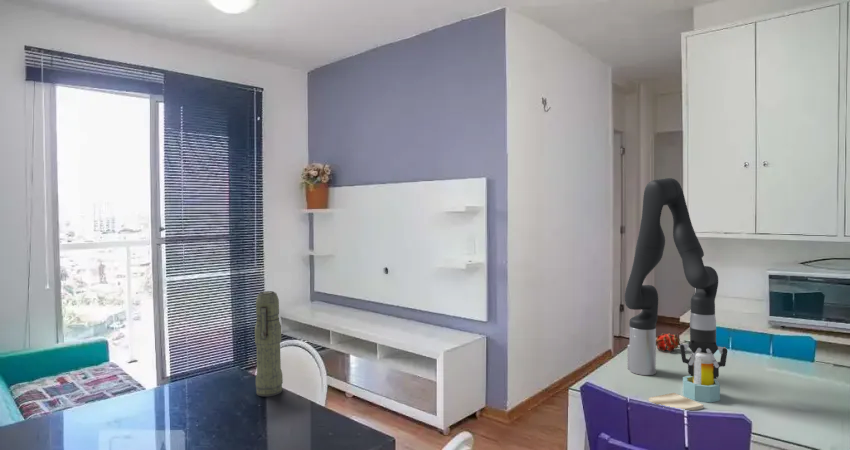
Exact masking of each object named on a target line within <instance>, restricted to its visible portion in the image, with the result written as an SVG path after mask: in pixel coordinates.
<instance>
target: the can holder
mask: <svg viewBox="0 0 850 450" xmlns="http://www.w3.org/2000/svg"><path fill="white" fill-rule="evenodd" d="M682 396H683V397H686V398H688V399H690V400H693V401H695V402H702V403H703V402H704V403H715V402H719V401H721V384H720V382H719V381H718V380H717V379H714V385H709V386H707V385H698V384H694V383H693V376H691V375H686V376H682Z"/></svg>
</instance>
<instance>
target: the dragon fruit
mask: <svg viewBox="0 0 850 450" xmlns="http://www.w3.org/2000/svg"><path fill="white" fill-rule="evenodd" d="M680 339H681V338H679V336H678V335H677V334H671V333H670V332H667V333H665V332H662V333H661V334H659V335H656V350H658V351H662V352H663V351H668V352H669V353H671V352H673V351H675V350H676V349H680V344H681V343H680V342H681V340H680Z"/></svg>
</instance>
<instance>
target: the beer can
mask: <svg viewBox="0 0 850 450" xmlns="http://www.w3.org/2000/svg"><path fill="white" fill-rule="evenodd" d="M693 354H694V353H693ZM714 355H715V354H713V356H714ZM714 357H715V356H714ZM714 380H715V379H714V364H713V361H712V355H711V353H704V352H703V353H702V352H700V353H699V352H697V353H696V355H695V360H694V363H693V383H694V384H698V385H707V386H709V385H714Z"/></svg>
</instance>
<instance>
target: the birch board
mask: <svg viewBox="0 0 850 450" xmlns="http://www.w3.org/2000/svg"><path fill="white" fill-rule="evenodd" d="M648 402H651V403H653V404H655V403H656V404H655V405H657V404H661V405H665V406H670V407H675V408H681V409H685V410H692V411H697V410H701V409H704V408H705V407H704V404H703V403H700V402H699V401H695V400H693V399H690V398H688V397H685V396H684V395H680V394H678V393H676V392H672V393H666V394H661V395H656V396H651V397H648Z"/></svg>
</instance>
